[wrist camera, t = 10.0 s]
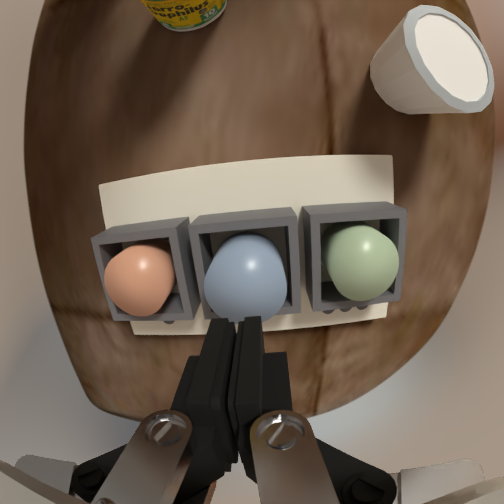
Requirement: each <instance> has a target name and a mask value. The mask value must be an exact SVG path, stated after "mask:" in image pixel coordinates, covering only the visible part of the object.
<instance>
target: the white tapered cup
mask: <svg viewBox="0 0 504 504" xmlns="http://www.w3.org/2000/svg"><path fill="white" fill-rule="evenodd" d="M370 78H371V80H372V83H373V85H374V88H375V91H376V92H377V93H378V94H379V96H380V97H381V98H382V99H383V101H384V102H385V103H386V104H388V105H389V106H391V107H392V108H393V109H395V110H396V111H399V112H402V113H406V114H430V113H472V112H481V111H482V110H483V109H484V108H485V107H486V106H487V105H488V104H489V103H490V102H491V99H492V95H493V91H494V77H493V70H492V66H491V63H490V61H489V59H488V56H487V53H486V51H485V49H484V47H483V45H482V44H481V43H480V41H479V40H478V38H477V37H476V35H475V34H474V33H473V31H472V30H471V29H470V28H469V27H468V26H467V25H466V24H465V23H463V22H462V21H461V20H460V19H459V18H458V17H457V16H455V15H454V14H452V13H450V12H448V11H446V10H444V9H442V8H440V7H437V6H428V5H420V6H418V7H416V8H414V9H412V10H410V11H409V12H408V13H407V14H406V15H405V17H404V18H403V19H402V20H401V22H400V23H399V24H398V25H397V27H396V28H395V29H394V30H393V32H392V33H391V34H390V35H389V37H388V38H387V39H386V40H385V42H384V43H383V44H382V45H381V47H380V48H379V49H378V50H377V52H376V53H375V55H374V57H373V59H372V61H371V63H370Z"/></svg>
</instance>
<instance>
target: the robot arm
mask: <svg viewBox="0 0 504 504" xmlns="http://www.w3.org/2000/svg"><path fill="white" fill-rule="evenodd" d="M238 453H239V454H240V457H241V461H242V463H243V465H244V469H245V472H246V475H247V476H248V477H249V478H250V479H251V480H253V481H254V482H255V483H257V485H258V490H259V496H260V502H261V504H504V477H500V478H495V479H491V480H487V481H485V477H484V472H483V470H482V467H481V465H480V464H478V463H477V462H476V461H474V460H471V459H462V460H457V461H452V462H448V463H443V464H437V465H432V466H426V467H419V468H412V469H404V470H401V471H400V472H399V473H391V474H388V473H386V472H385V471H383V470H381V469H379V468H376V467H374V466H372V465H369V464H367V463H365V462H363V461H360V460H358V459H356V458H354V457H352V456H350V455H348V454H346V453H344V452H342V451H340V450H338V449H336V448H334V447H332V446H330V445H328V444H326V443H324V442H322V441H321V440H319V439H317V438H315V436H314V433H313V430H312V428H311V425H310V423H309V422H308V420H307V419H306V418H305V417H304V416H302V415H301V414H299V413H296V412H294V411H293V410H292V400H291V390H290V381H289V372H288V363H287V354H286V352H274V353H265V350H264V340H263V330H262V319H261V316H250V317H245V318H244V321H239V322H238V329H237V335H236V328H235V323H234V322H229V320H228V318H213V319H211V321H210V324H209V327H208V331H207V334H206V337H205V340H204V343H203V347H202V350H201V353H200V356H189V358H188V360H187V363H186V366H185V369H184V371H183V374H182V377H181V380H180V383H179V386H178V388H177V391H176V394H175V397H174V400H173V403H172V406H171V409H170V410H161V411H157V412H154V413H152V414H150V415H149V416H147V417H146V418H145V419H144V420H143V421H142V422H141V423H140V425H139V427H138V428H137V430H136V431H135V433H134V435H133V436H132V438H131V440H130V441H129V443H128V444H125V445H123V446H121V447H119V448H117V449H114V450H112V451H110V452H108V453H105V454H103V455H101V456H98V457H96V458H93V459H91V460H89V461H86V462H84V463H82V464H80V465H77V464H76V463H75V462H69V461H62V460H56V459H50V458H44V457H39V456H34V455H25V456H23V457H21V458H20V459H19V460H18V461H17V462H16V464H15V467H13V466H11V465H10V464H8V463H6V462H3V461H1V460H0V504H210V502H211V499H212V497H213V494H214V491H215V488H216V480H218V479H219V478H221V477H222V476H224V473H225V472H231V464H232V463H237V462H238Z"/></svg>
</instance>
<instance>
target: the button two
mask: <svg viewBox="0 0 504 504" xmlns="http://www.w3.org/2000/svg"><path fill="white" fill-rule="evenodd" d="M204 293H205V297H206V300H207V302H208V304H209V306H210V307H211V308H212V310H213V311H214V312H215V313H216V314H217V315H218V316H220V317H221V318H228V320H229V322H234V323H235V324H238V322H239V321H244V318H245V317H250V316H261V319H262V322H264V321H266V320H268V319H270V318H271V317H273V316H274V315H275V314H276V313H277V312H278V311H279V310H280V309H281V307H282V306H283V304H284V301H285V299H286V295H287V282H286V277H285V272H284V267H283V262H282V258H281V254H280V252H279V249H278V248H277V246H276V245H275V244H274V242H273V241H272V240H270V239H269V238H268V237H266V236H264V235H262V234H260V233H256V232H250V231H245V232H239V233H236V234H233V235H231V236H230V237H228V238H227V239H225V240H224V241H223V242H222V243H221V245H220V246H219V248H218V250H217V252H216V254H215V256H214V258H213V260H212V263H211V265H210V267H209V269H208V271H207V273H206V276H205V280H204Z"/></svg>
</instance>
